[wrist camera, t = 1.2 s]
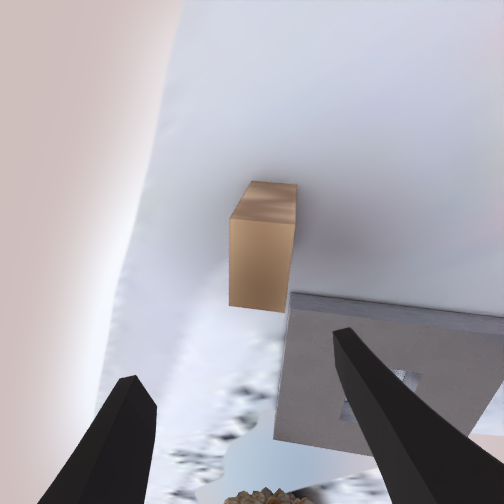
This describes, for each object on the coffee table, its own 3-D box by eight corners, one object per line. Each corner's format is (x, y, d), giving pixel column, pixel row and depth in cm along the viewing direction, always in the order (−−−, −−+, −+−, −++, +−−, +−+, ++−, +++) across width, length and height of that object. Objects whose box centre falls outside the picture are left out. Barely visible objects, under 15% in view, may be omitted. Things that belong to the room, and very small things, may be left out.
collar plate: (511, 318, 22) (530, 338, 20) (438, 446, 29) (447, 469, 27) (290, 292, 23) (290, 308, 22) (274, 419, 31) (273, 439, 29)
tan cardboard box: (296, 184, 20) (295, 224, 13) (289, 252, 22) (284, 312, 16) (251, 181, 20) (229, 218, 14) (248, 247, 22) (228, 305, 16)
